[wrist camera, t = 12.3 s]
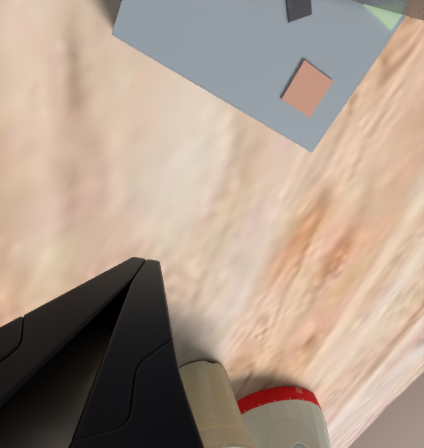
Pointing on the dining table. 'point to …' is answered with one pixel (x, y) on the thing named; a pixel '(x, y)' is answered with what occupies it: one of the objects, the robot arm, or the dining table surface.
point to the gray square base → (265, 53)
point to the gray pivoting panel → (399, 6)
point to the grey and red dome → (284, 418)
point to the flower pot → (214, 406)
